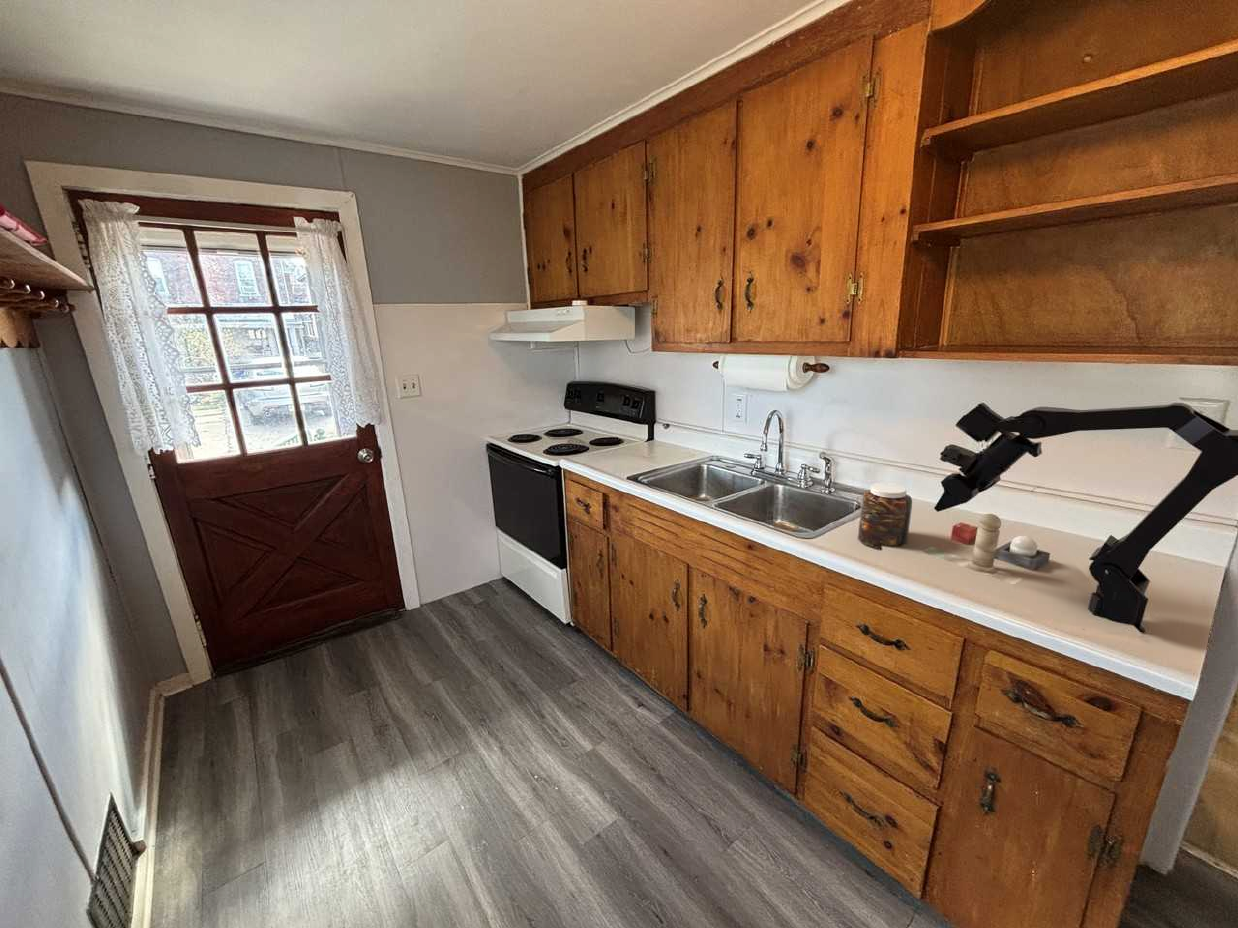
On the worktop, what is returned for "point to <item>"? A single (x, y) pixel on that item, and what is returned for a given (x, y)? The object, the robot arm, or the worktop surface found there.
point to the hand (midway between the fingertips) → (944, 505)
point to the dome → (1023, 546)
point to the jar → (885, 516)
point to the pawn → (986, 543)
